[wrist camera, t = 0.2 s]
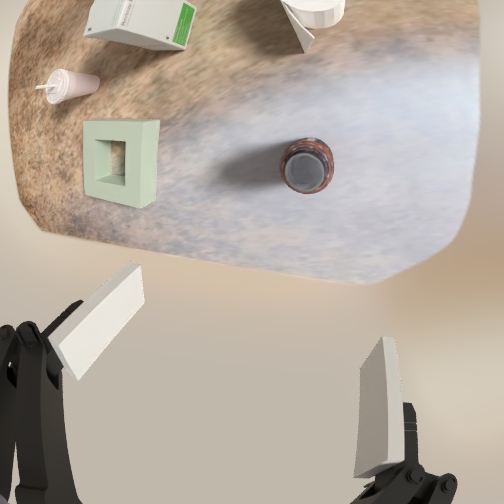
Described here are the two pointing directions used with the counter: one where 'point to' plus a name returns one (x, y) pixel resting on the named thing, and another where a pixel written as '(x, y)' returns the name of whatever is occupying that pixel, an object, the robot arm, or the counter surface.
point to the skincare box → (142, 22)
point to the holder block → (136, 160)
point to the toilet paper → (312, 16)
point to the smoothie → (69, 85)
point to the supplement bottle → (307, 166)
